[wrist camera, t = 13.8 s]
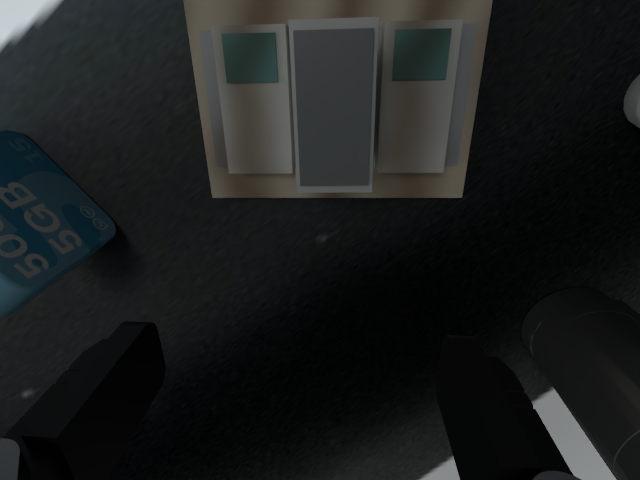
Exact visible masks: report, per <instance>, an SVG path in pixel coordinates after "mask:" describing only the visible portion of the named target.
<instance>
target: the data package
mask: <svg viewBox="0 0 640 480" xmlns="http://www.w3.org/2000/svg"><path fill="white" fill-rule="evenodd" d="M115 233H116V227H115V224H114V222H113V221H112V219H111V218H110V217H109V216H108V215H107V214H106V213H105V212H104V211H103V210H102V209H101V208H100V207H99V206H98V205H97V204H96V203H95V202H94V201H93V200H92V199H91V198H90V197H89V196H88V195H87V194H86V193H85V192H84V191H83V190H82V189H81V188H80V187H79V186H78V185H77V184H76V183H75V182H73V181H72V180H71V179H70V178H69V177H68V176H67V175H66V174H65V173H64V172H63V171H62V170H61V169H60V168H59V167H58V166H57V165H56V164H55V163H54V162H53V161H52V160H51V159H50V158H49V157H48V156H47V155H46V154H45V153H44V152H43V151H42V150H41V149H40V148H39V147H38V146H37V145H36V144H35V143H34V142H33V141H32V140H30V139H29V138H27V137H26V136H24V135H22V134H20V133H17V132H14V131H8V130H4V131H0V318H2V317H6V316H9V315H11V314H12V313H14V312H15V311H17V310H18V309H19V308H21V307H22V306H23V305H25V304H26V303H28V302H29V301H30V300H32V299H33V298H34V297H36V296H37V295H38V294H40V293H41V292H42V291H44V290H45V289H47V288H48V287H49V286H51V285H52V284H53V283H55V282H56V281H57V280H59V279H60V278H61V277H63V276H64V275H66V274H67V273H68V272H70V271H71V270H72V269H74V268H75V267H76V266H78V265H79V264H81V263H82V262H83V261H85V260H86V259H87V258H88V257H90V256H91V255H92V254H93V253H95V252H96V251H97V250H98V249H99V248H101V247H102V246H103V245H104V244H106V243H107V242H108V241H109V240H110V239H112V238H113V237H114V236H115Z"/></svg>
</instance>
